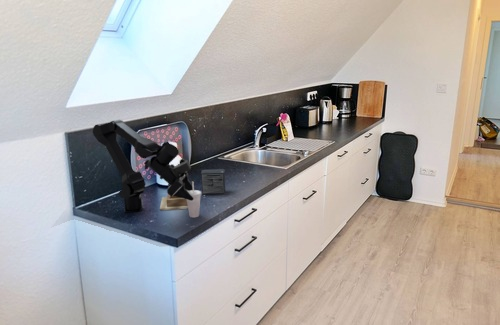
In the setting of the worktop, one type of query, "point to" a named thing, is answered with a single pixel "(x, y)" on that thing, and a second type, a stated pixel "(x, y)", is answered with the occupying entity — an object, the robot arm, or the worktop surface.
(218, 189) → the small box
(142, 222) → the worktop surface
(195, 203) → the smoothie
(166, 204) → the bottle stand
